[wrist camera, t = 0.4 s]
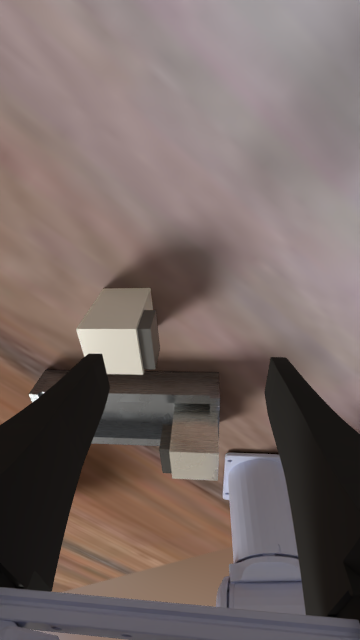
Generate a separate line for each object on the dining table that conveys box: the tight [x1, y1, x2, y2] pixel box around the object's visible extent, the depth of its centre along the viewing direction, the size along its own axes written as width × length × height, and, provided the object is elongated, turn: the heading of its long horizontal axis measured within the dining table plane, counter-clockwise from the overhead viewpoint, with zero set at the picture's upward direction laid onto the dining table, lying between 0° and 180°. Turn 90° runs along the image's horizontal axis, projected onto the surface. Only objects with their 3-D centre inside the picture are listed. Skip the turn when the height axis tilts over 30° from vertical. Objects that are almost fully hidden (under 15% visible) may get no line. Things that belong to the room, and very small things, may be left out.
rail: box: [29, 370, 220, 481], centre depth 25 cm, size 7×16×7 cm, turn 93°
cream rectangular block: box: [76, 288, 160, 375], centre depth 20 cm, size 4×4×5 cm
